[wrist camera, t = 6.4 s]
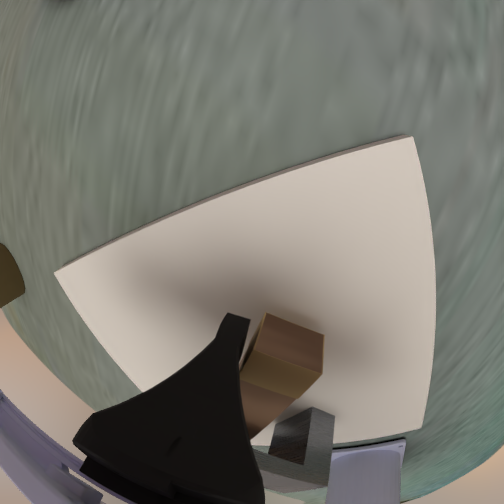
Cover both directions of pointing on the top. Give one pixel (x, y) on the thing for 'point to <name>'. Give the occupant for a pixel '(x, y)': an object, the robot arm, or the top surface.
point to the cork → (9, 278)
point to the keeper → (299, 452)
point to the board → (285, 283)
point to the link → (277, 369)
